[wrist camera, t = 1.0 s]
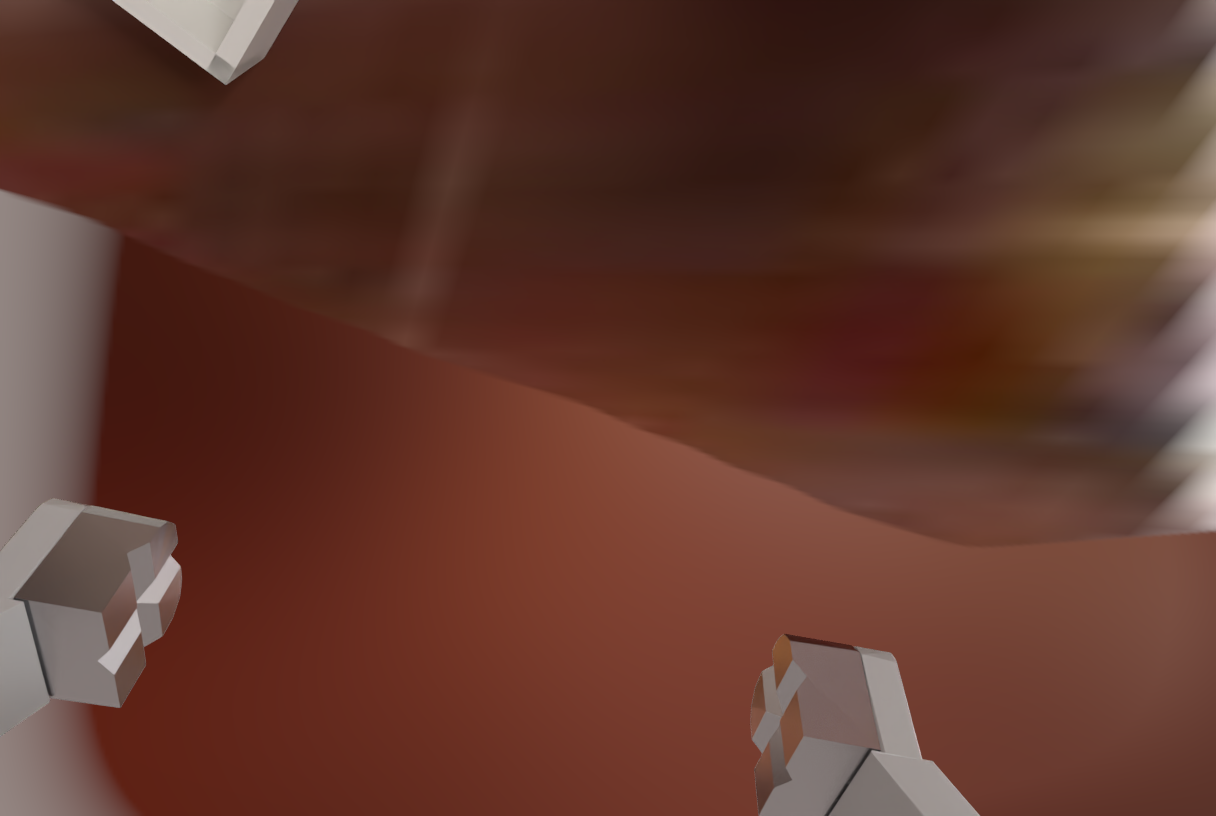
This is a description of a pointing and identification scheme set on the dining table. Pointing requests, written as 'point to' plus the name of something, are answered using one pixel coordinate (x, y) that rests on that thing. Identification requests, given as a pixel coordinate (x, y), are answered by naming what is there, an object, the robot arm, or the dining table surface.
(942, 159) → the dining table surface
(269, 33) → the endcap
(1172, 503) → the dining table surface
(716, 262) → the dining table surface
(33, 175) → the dining table surface
